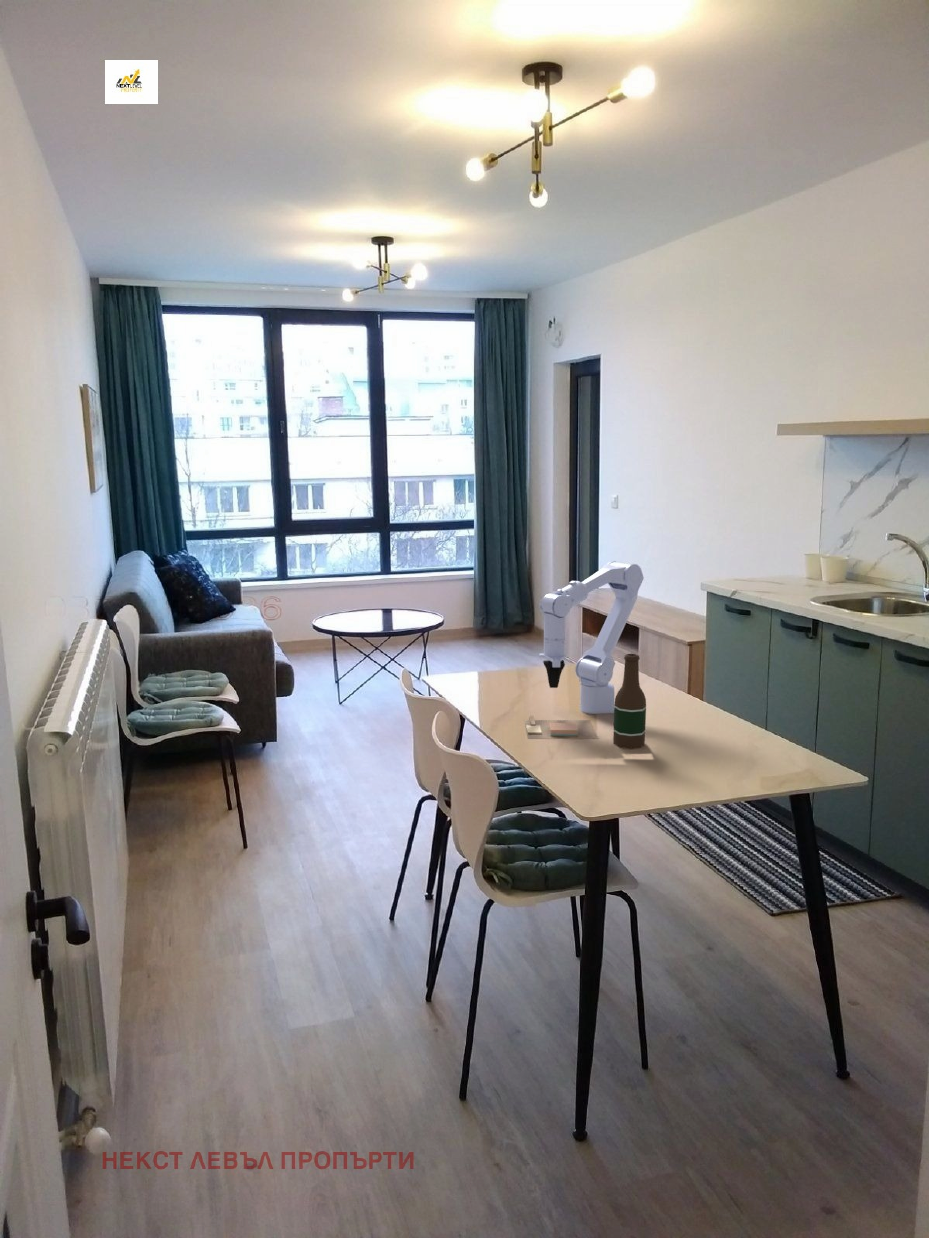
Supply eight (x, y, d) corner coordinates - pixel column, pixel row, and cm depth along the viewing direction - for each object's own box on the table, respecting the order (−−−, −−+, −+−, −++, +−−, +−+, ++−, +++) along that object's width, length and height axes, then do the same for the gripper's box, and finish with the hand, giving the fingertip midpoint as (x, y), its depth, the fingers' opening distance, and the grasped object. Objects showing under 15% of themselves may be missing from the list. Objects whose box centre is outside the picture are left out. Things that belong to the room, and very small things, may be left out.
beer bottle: (606, 747, 224) (609, 654, 219) (626, 741, 229) (629, 649, 224) (630, 755, 218) (634, 659, 213) (651, 748, 223) (654, 655, 218)
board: (590, 724, 243) (590, 720, 243) (598, 743, 227) (598, 738, 227) (524, 724, 243) (524, 720, 243) (527, 742, 227) (527, 738, 227)
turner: (537, 718, 244) (537, 715, 244) (541, 734, 231) (541, 731, 230) (524, 718, 244) (524, 715, 244) (527, 734, 231) (527, 731, 230)
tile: (575, 723, 235) (578, 729, 229) (575, 728, 235) (577, 735, 229) (548, 722, 235) (550, 729, 229) (548, 728, 235) (550, 735, 229)
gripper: (537, 632, 248) (536, 680, 250) (541, 643, 234) (540, 694, 236) (563, 633, 248) (562, 680, 250) (568, 643, 234) (567, 694, 236)
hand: (553, 687), depth 243 cm, fingers closed
